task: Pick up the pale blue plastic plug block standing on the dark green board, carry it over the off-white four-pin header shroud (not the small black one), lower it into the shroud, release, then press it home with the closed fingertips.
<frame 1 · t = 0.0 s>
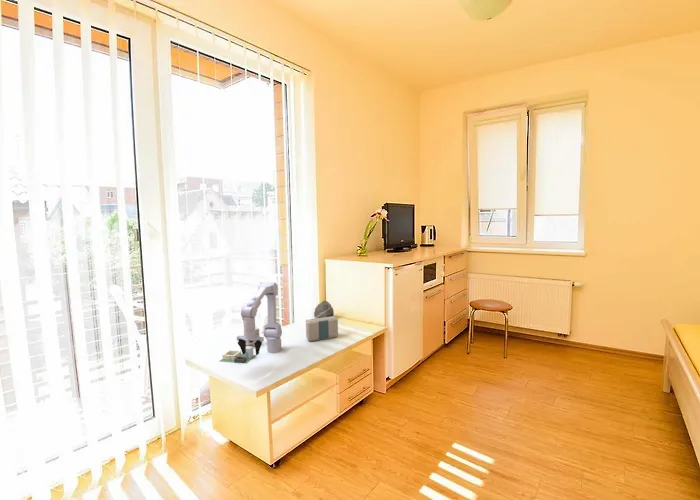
hand: (250, 354, 190), 10 cm above the table, fingers open, 7 cm apart
decorative rock: (323, 319, 286), on the table
board: (238, 359, 208), on the table
ink box: (252, 347, 228), on the table
stereo radio cassette player: (321, 338, 242), on the table
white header: (232, 357, 210), resting on board
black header: (240, 361, 203), resting on board
plug: (248, 357, 208), point 1 cm above the table, touching board
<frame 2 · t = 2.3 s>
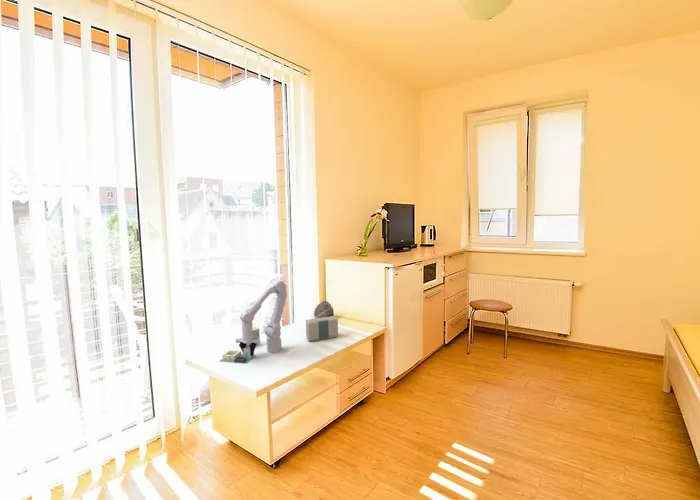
hand: (248, 355, 208), 2 cm above the table, fingers closed on plug, 4 cm apart
plug: (248, 357, 208), point 1 cm above the table, touching board, gripper
everything else where it was.
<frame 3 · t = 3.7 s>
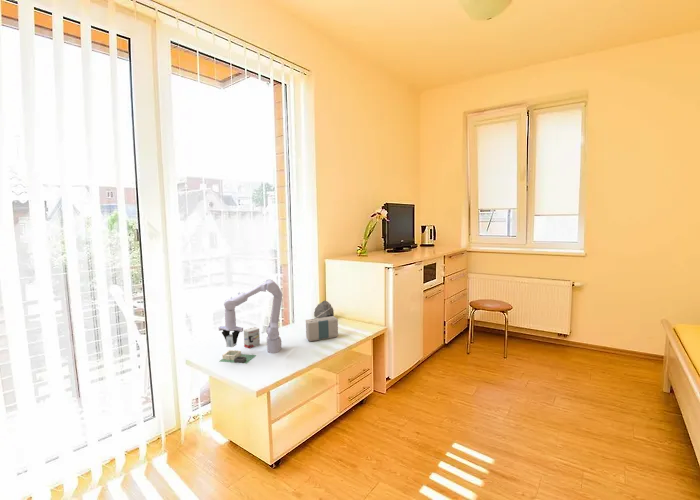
hand: (231, 343, 209), 9 cm above the table, fingers closed on plug, 4 cm apart
plug: (231, 345, 209), point 8 cm above the table, touching gripper
everything else where it was.
when the fingers open (4 cm above the table, at t = 5.1 s): plug drops 1 cm, resting on board.
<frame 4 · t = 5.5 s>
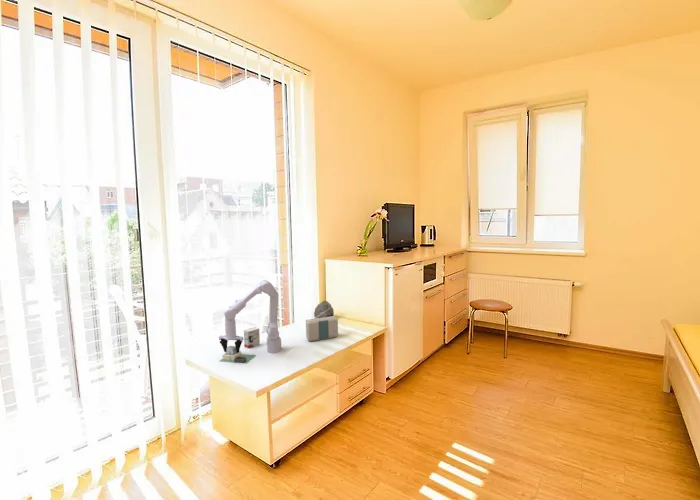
hand: (231, 352, 209), 4 cm above the table, fingers open, 7 cm apart
plug: (231, 357, 209), point 1 cm above the table, touching board
everything else where it was.
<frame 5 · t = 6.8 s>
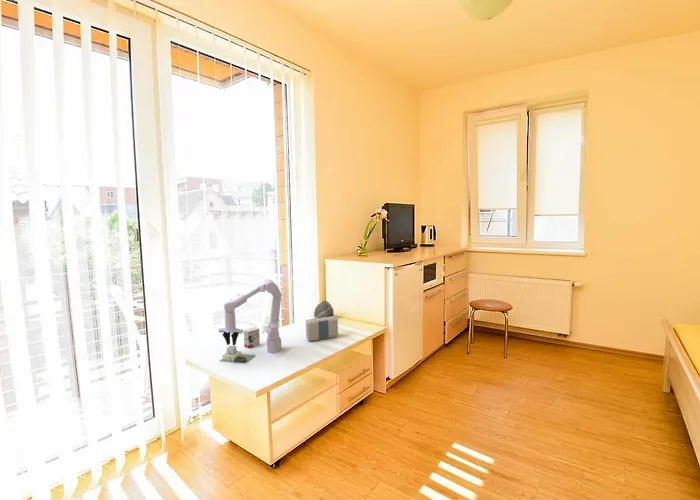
hand: (231, 344, 209), 8 cm above the table, fingers open, 3 cm apart
nothing on the table moved.
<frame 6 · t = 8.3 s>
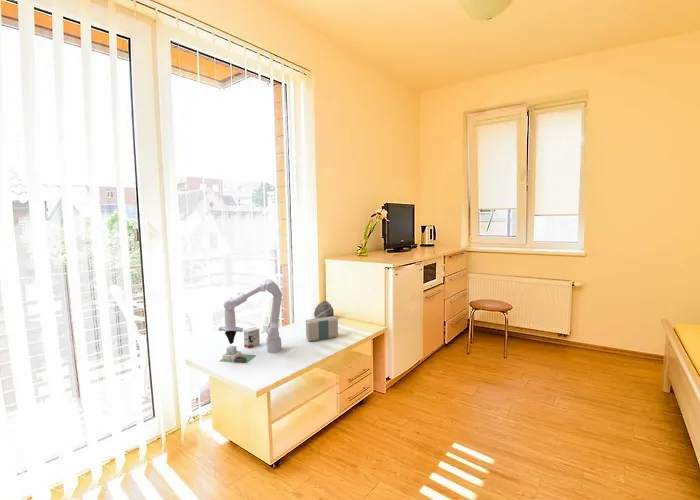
hand: (231, 343, 209), 9 cm above the table, fingers closed
nothing on the table moved.
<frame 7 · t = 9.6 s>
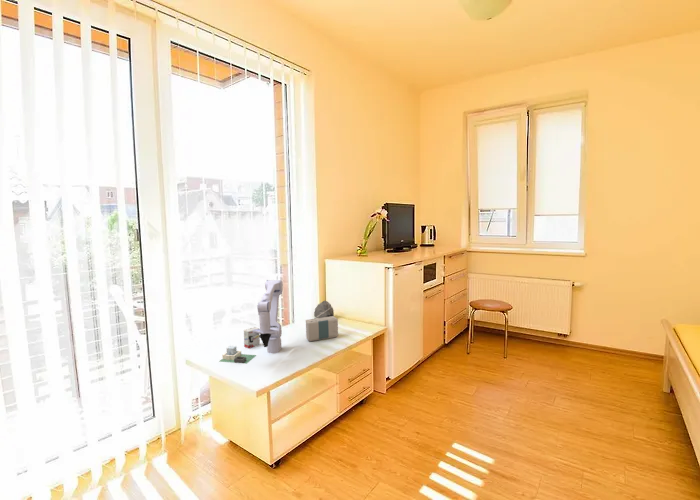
hand: (265, 346, 201), 10 cm above the table, fingers closed
nothing on the table moved.
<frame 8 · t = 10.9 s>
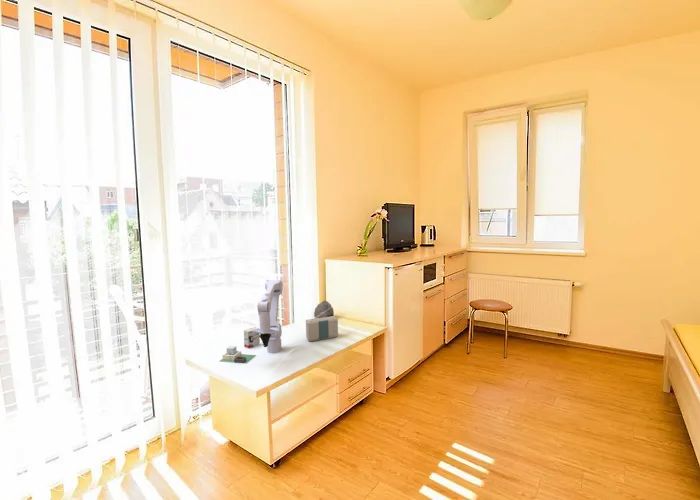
hand: (265, 346, 201), 10 cm above the table, fingers closed
nothing on the table moved.
at the end: plug 0.2 cm off-centre on the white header, point 0.0 cm above the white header's base; plug tilted 0°; the gripper is holding nothing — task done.
